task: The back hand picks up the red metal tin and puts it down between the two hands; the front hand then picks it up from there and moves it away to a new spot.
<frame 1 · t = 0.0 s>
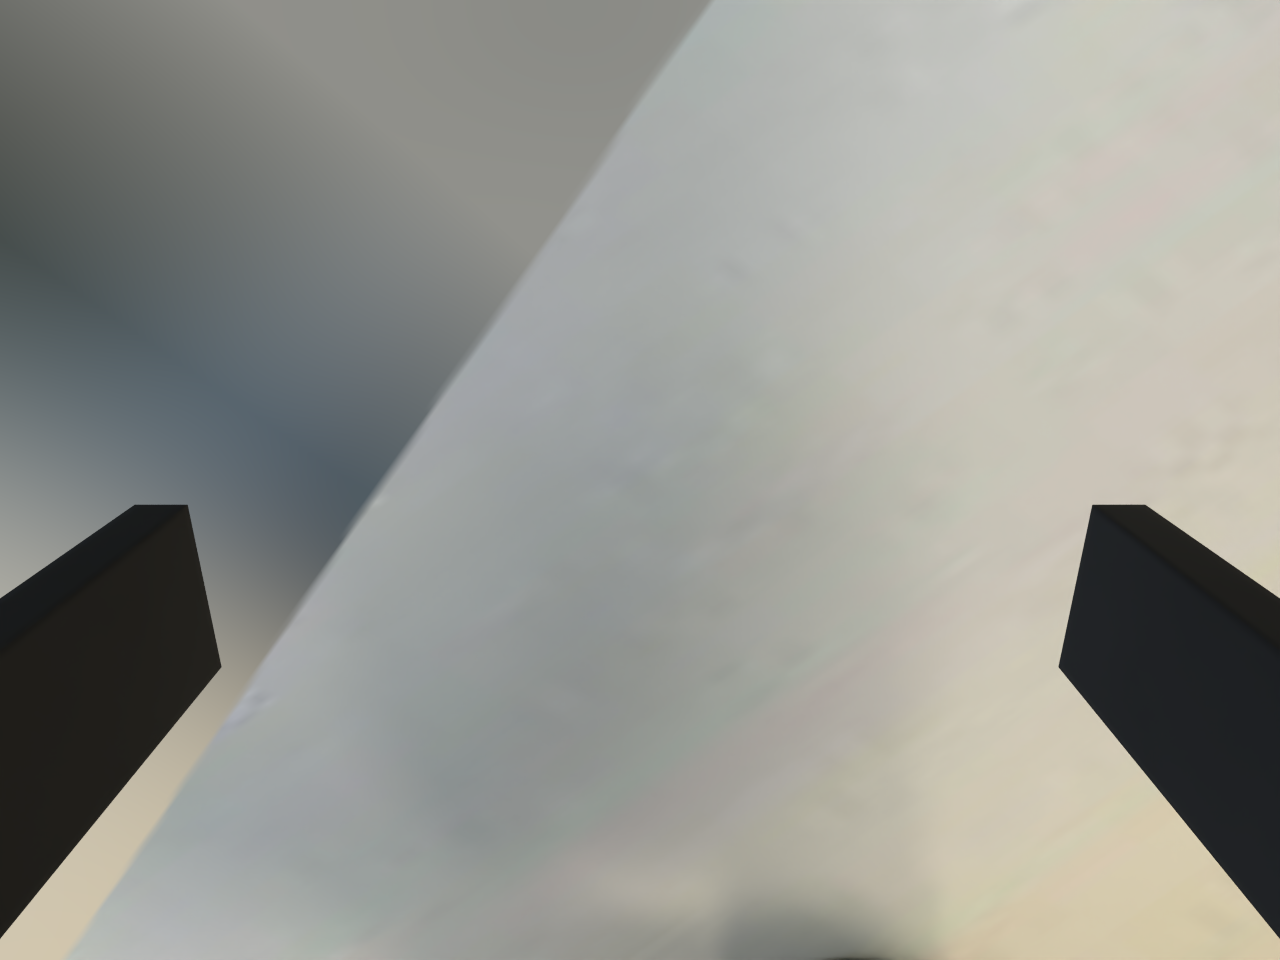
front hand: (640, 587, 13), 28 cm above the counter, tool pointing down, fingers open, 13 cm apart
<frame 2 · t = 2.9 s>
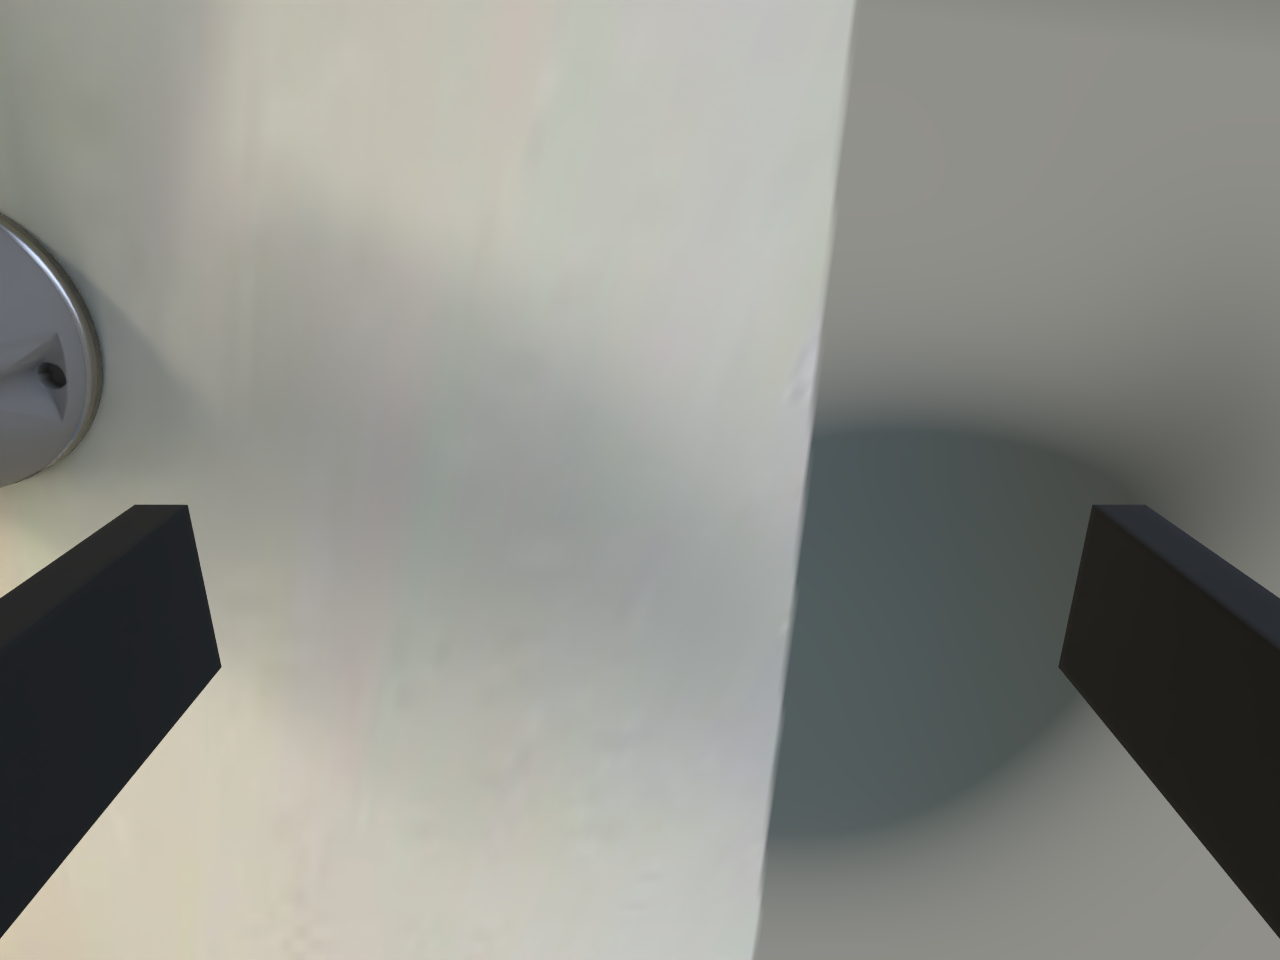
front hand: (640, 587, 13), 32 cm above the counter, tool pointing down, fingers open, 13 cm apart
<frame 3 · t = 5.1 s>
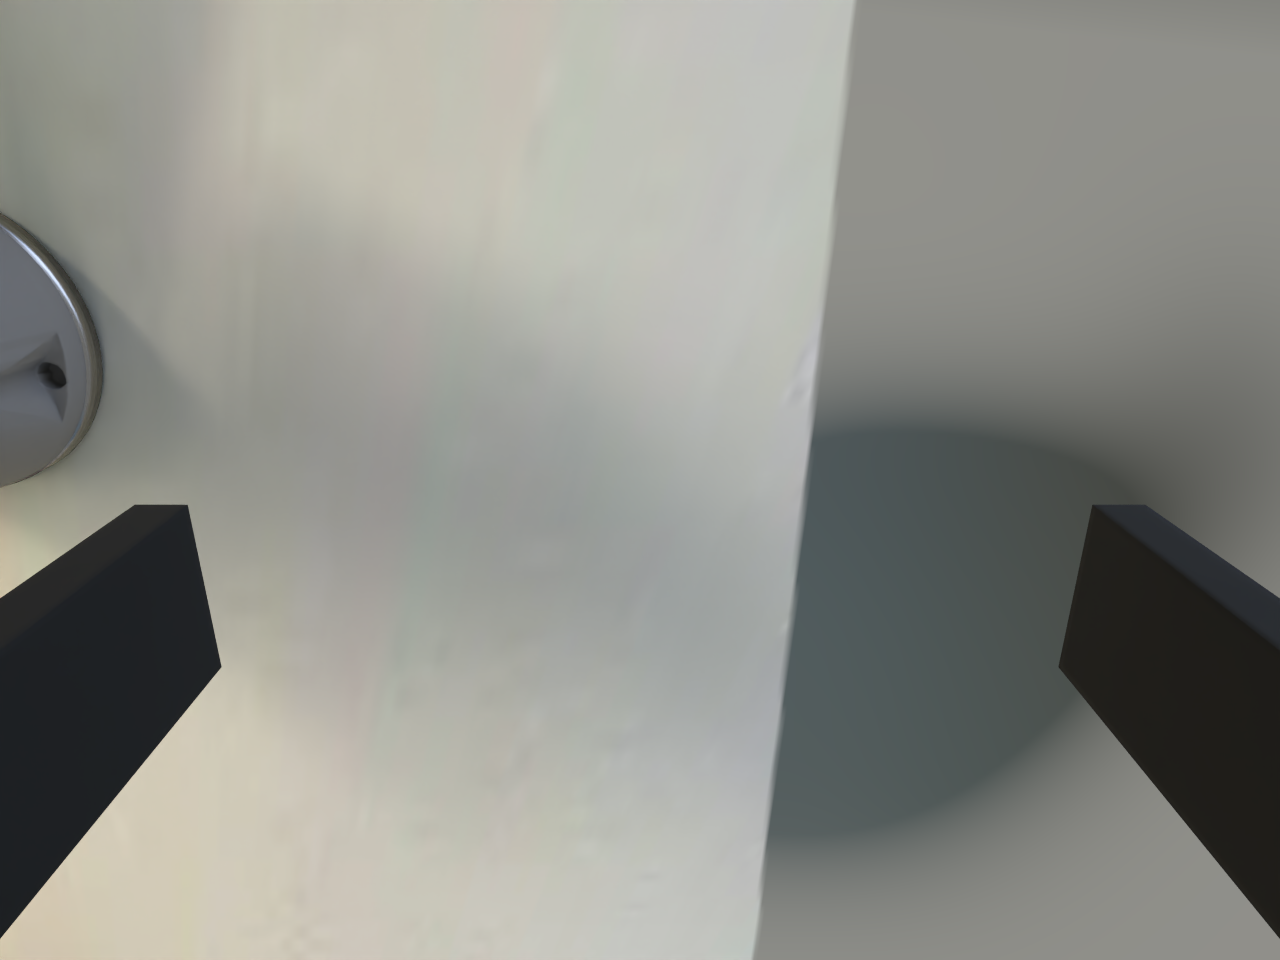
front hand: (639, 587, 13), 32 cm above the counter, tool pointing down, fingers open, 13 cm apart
when the back hand's fingers open (6 cm above the counter, at t = 7.5 s): tin drops 2 cm, on the counter.
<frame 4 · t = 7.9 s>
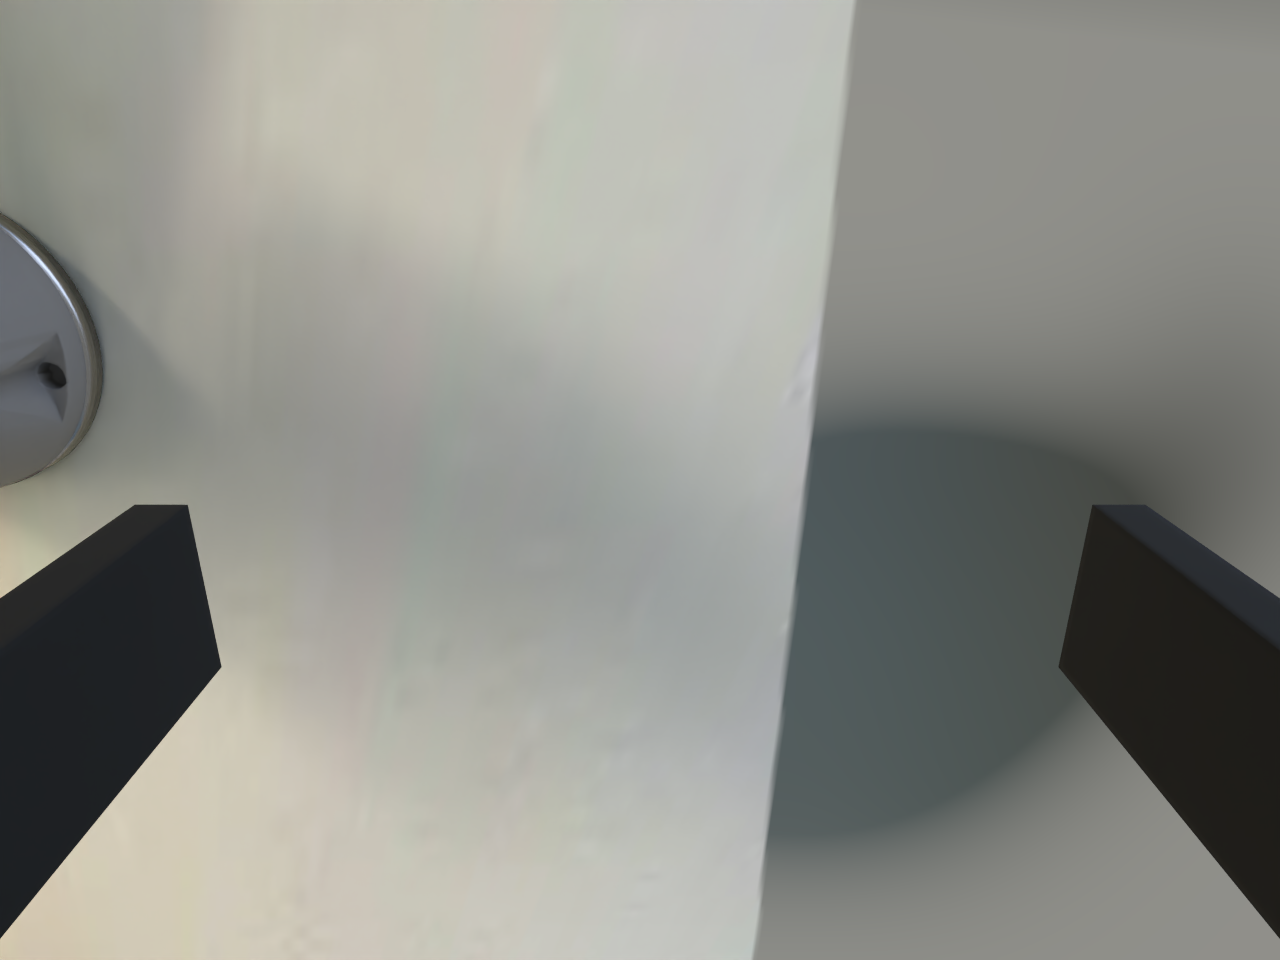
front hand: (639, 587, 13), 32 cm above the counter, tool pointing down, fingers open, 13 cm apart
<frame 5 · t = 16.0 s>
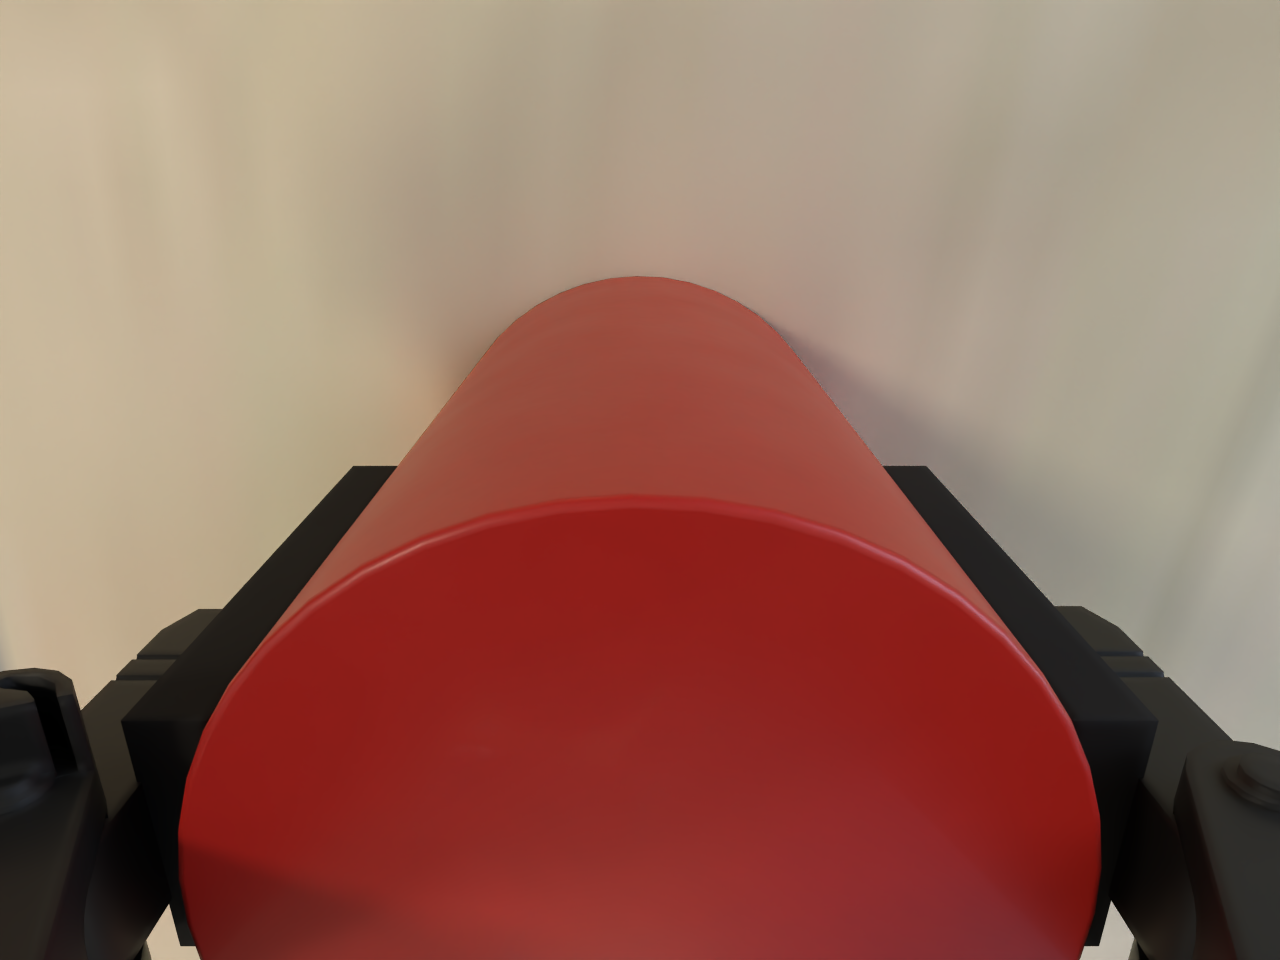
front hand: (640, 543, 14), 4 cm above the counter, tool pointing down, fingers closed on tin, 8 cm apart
tin: (639, 465, 17), on the counter, touching front hand
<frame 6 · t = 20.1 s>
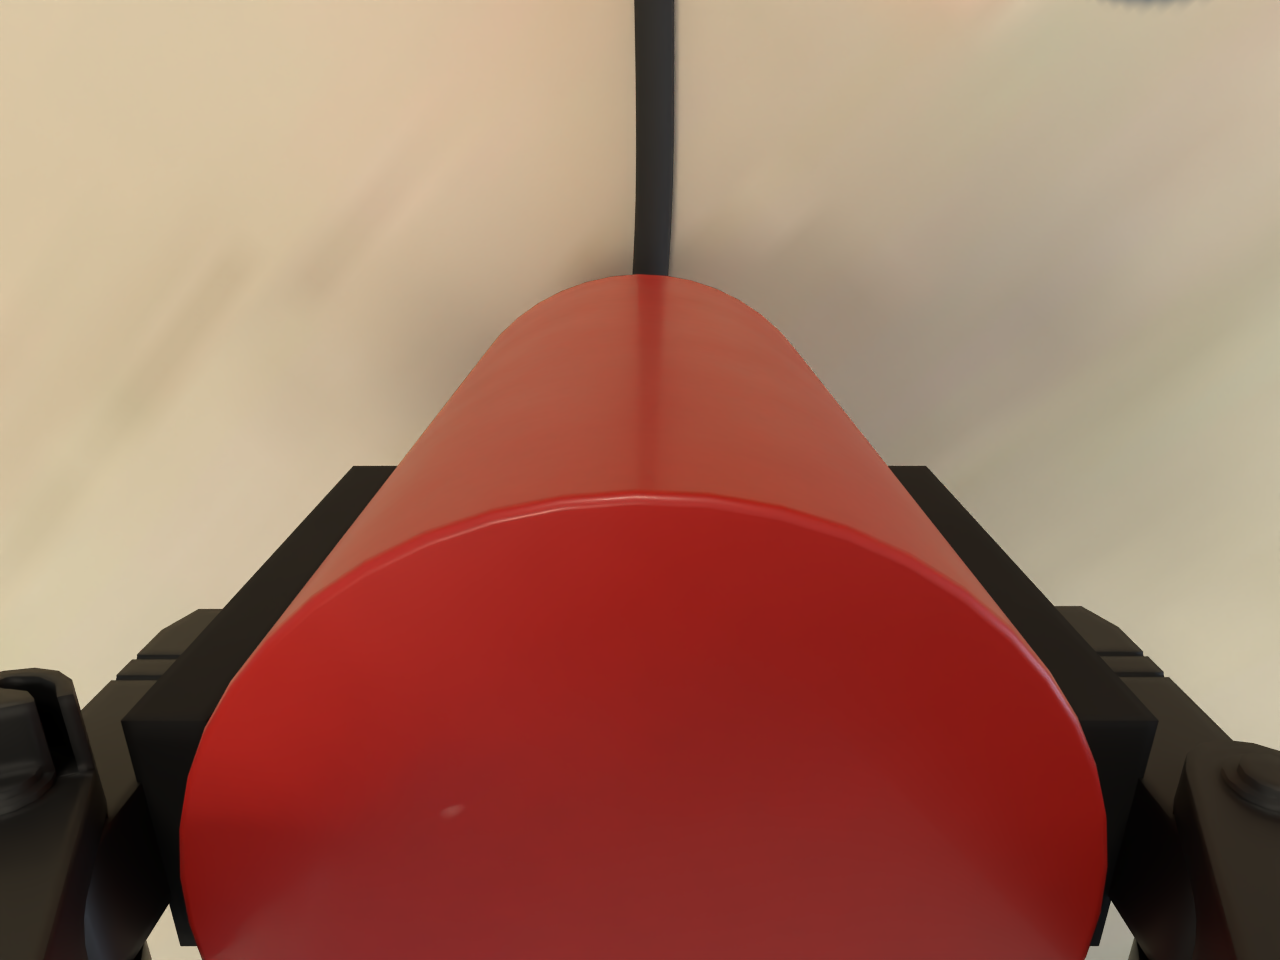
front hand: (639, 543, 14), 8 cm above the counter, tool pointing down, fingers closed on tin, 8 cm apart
tin: (641, 464, 17), point 4 cm above the counter, touching front hand
when the front hand's fingers open (6 cm above the counter, at t = 24.4 s): tin drops 2 cm, on the counter.
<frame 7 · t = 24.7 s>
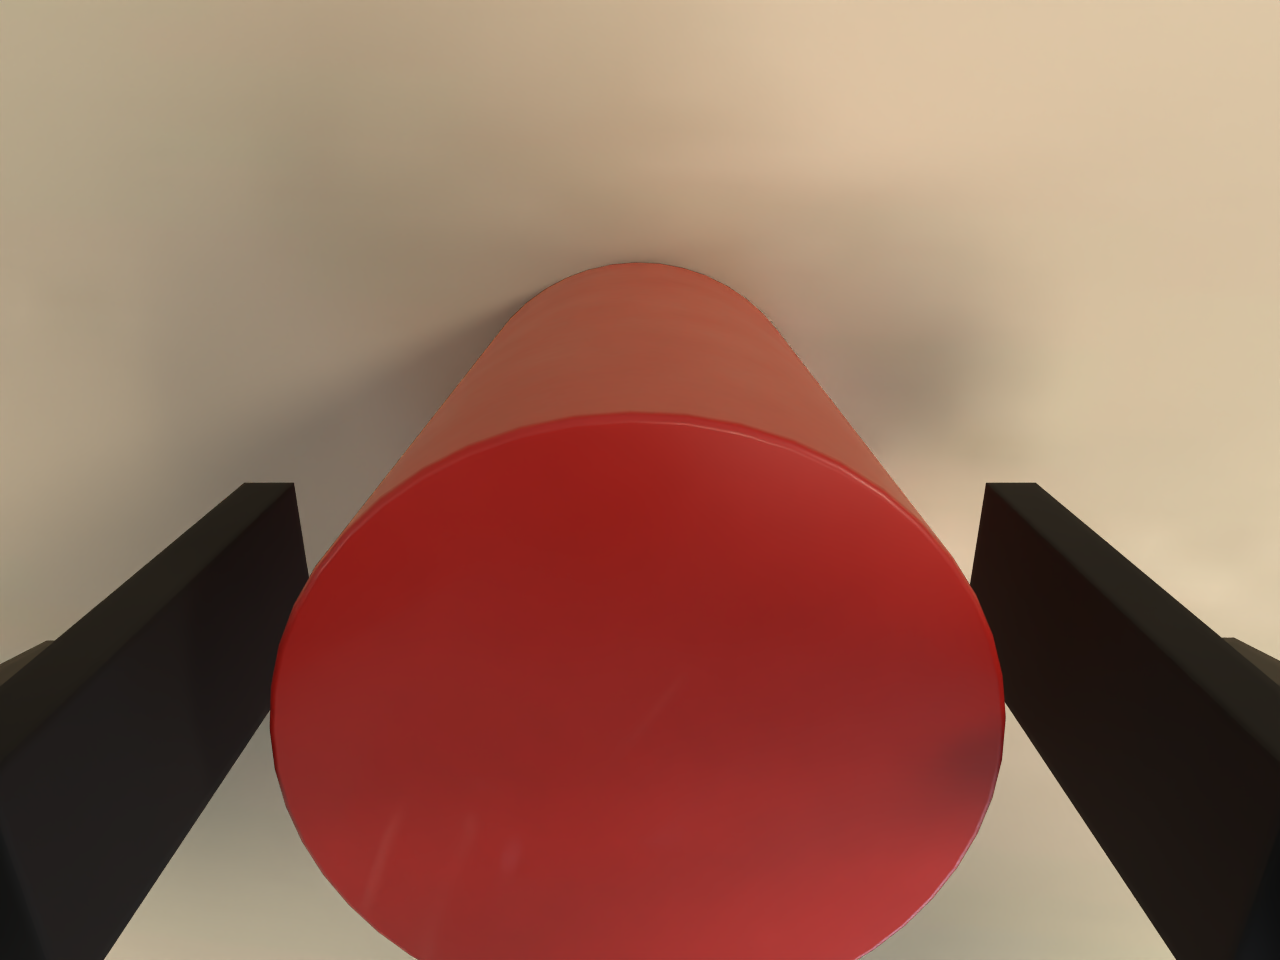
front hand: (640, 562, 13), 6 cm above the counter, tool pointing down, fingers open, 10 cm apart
tin: (638, 435, 19), on the counter
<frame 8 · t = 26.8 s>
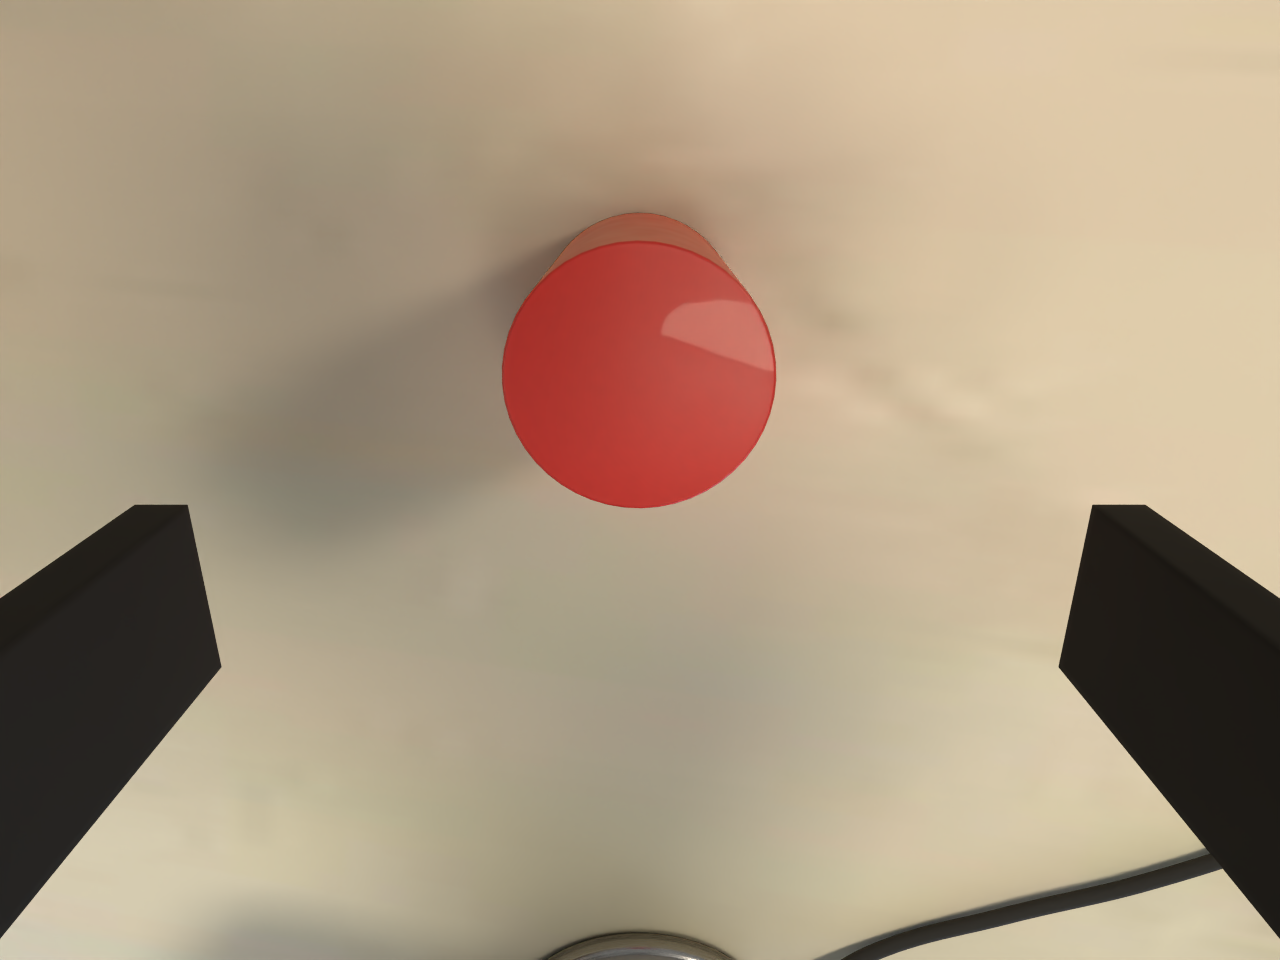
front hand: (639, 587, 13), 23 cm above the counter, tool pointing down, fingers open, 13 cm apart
tin: (639, 312, 34), on the counter
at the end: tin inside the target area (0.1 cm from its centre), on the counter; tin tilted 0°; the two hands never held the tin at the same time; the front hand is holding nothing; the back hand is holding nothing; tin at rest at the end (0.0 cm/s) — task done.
